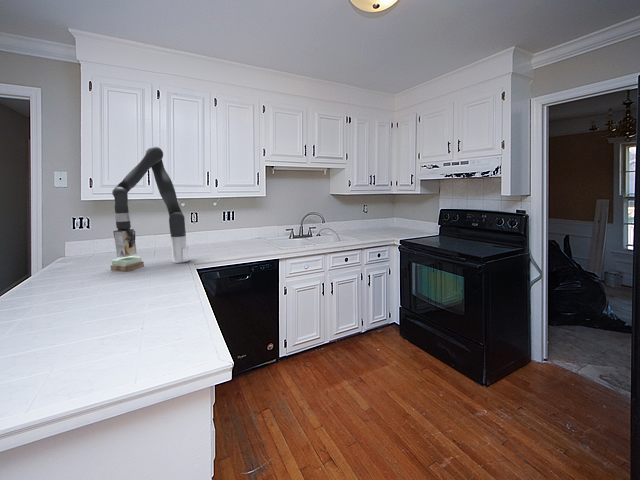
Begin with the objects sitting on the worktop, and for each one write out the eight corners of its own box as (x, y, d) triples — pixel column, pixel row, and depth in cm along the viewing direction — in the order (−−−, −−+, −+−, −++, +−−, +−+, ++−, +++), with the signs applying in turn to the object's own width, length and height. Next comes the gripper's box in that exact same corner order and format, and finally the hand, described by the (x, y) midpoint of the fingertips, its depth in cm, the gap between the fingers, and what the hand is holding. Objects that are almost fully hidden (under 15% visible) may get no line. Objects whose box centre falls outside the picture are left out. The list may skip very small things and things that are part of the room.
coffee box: (128, 253, 203) (125, 228, 200) (137, 254, 202) (134, 228, 199) (116, 257, 194) (113, 230, 191) (125, 257, 193) (122, 231, 190)
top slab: (141, 261, 203) (141, 257, 202) (124, 266, 192) (124, 261, 191) (129, 260, 206) (129, 256, 205) (112, 265, 195) (111, 260, 194)
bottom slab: (144, 266, 204) (143, 261, 204) (127, 272, 192) (127, 266, 191) (128, 265, 207) (127, 260, 206) (111, 271, 194) (110, 265, 194)
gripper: (137, 219, 196) (140, 246, 199) (118, 219, 199) (121, 246, 202) (128, 221, 189) (131, 249, 192) (107, 220, 192) (111, 248, 195)
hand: (126, 247), depth 197 cm, fingers closed on coffee box, 6 cm apart
